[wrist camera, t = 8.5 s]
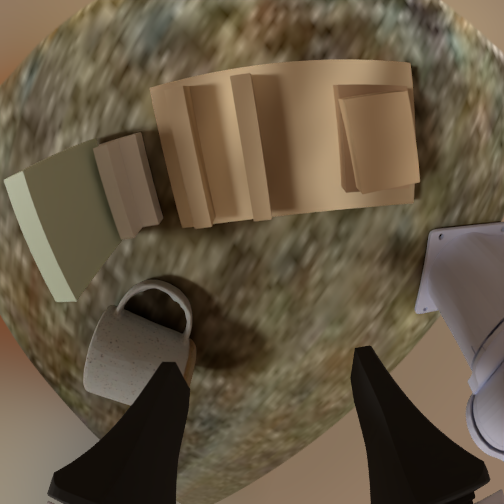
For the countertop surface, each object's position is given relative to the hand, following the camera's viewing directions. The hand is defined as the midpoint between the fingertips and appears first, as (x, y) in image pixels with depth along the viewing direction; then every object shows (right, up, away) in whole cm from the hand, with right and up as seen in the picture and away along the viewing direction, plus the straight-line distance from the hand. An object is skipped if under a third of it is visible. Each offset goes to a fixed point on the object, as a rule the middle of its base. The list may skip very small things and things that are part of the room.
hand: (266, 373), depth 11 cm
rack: (+2, +11, +5) cm, 13 cm away
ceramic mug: (-9, -1, +14) cm, 16 cm away
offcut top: (+6, +11, +3) cm, 13 cm away
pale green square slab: (-10, +9, +6) cm, 15 cm away
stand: (-10, +9, +7) cm, 16 cm away
